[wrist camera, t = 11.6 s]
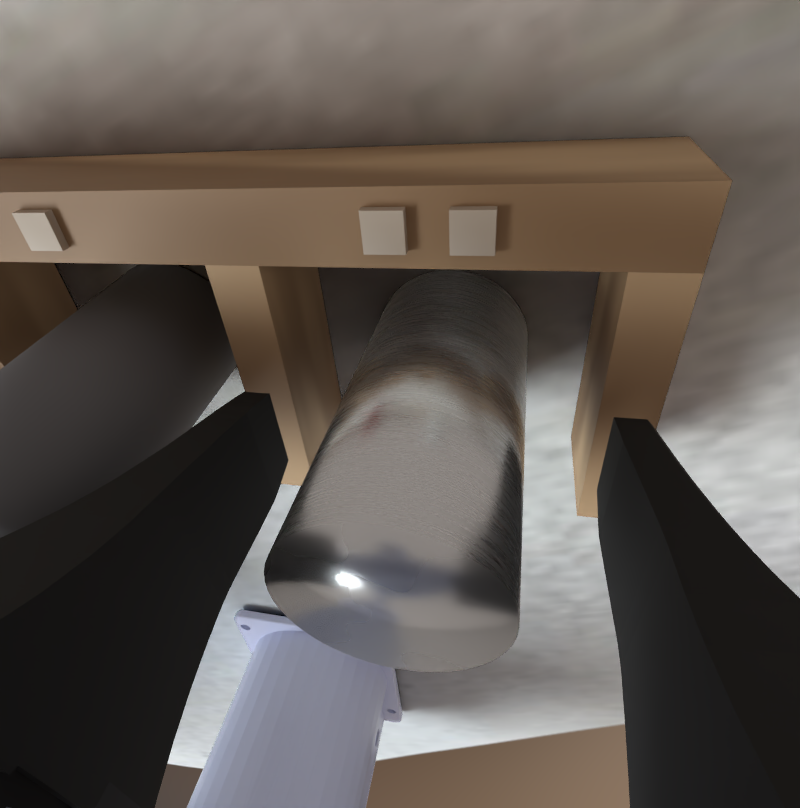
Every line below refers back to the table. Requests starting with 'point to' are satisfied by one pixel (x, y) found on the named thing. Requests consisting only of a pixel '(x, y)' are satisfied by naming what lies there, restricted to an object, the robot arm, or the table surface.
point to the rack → (381, 251)
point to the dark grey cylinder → (108, 389)
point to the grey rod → (417, 488)
